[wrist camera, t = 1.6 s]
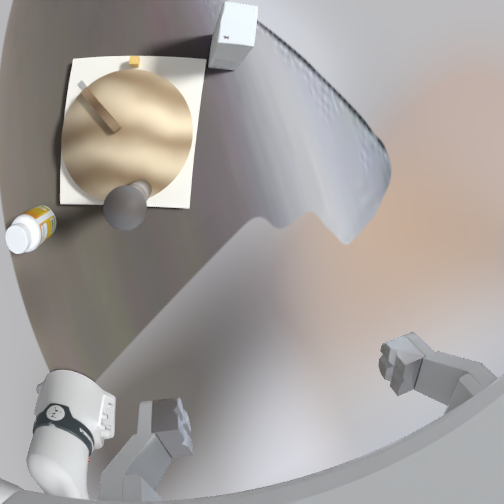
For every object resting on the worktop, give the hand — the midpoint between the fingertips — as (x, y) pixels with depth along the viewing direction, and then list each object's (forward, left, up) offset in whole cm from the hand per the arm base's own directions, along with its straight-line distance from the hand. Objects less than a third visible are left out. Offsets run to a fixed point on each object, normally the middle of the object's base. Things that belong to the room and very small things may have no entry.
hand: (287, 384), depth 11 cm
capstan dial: (+9, +13, -36) cm, 39 cm away
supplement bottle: (-4, +27, -38) cm, 46 cm away
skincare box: (+23, 0, -38) cm, 44 cm away
